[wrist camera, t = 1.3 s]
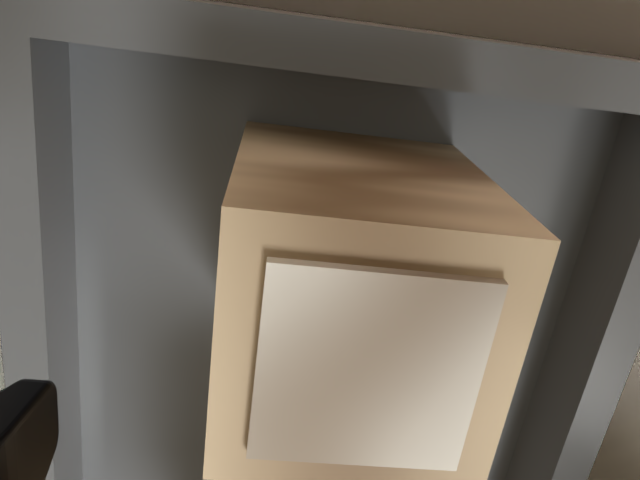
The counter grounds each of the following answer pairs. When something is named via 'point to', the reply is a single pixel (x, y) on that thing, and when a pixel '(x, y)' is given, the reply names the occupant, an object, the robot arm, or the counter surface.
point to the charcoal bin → (211, 184)
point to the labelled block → (366, 310)
